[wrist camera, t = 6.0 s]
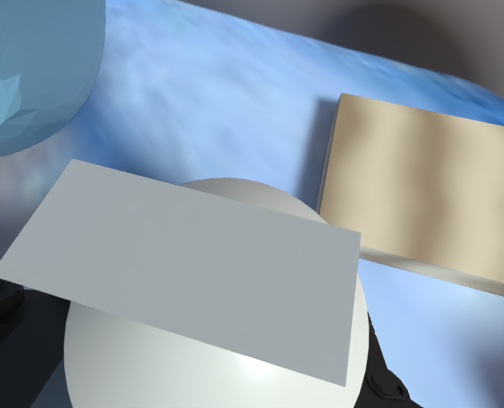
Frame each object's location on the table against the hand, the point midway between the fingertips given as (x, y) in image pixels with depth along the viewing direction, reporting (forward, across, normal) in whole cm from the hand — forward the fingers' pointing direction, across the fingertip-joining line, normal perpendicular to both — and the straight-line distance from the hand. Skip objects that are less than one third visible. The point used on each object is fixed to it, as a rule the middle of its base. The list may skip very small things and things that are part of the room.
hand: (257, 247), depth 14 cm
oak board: (+9, +9, +3) cm, 13 cm away
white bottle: (0, 0, -5) cm, 5 cm away
